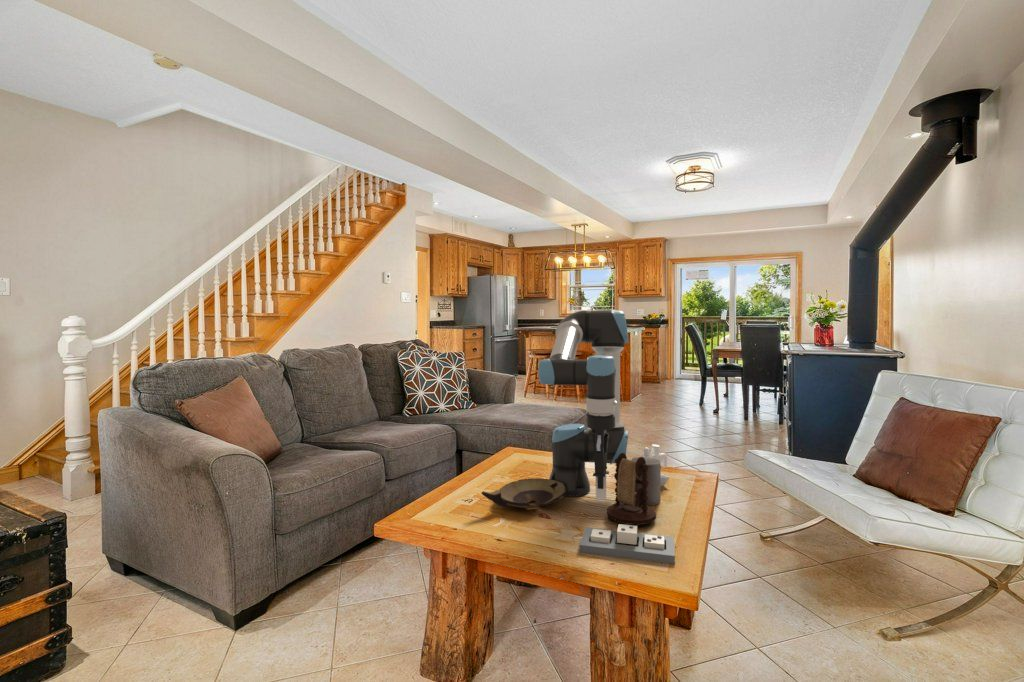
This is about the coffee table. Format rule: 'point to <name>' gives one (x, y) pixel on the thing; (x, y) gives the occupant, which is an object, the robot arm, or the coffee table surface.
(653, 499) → the pillar candle
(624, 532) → the white die
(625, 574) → the coffee table surface
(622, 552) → the button board
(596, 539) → the white die
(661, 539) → the white die
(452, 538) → the coffee table surface
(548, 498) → the oil lamp
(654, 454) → the figurine
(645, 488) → the scroll
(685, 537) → the coffee table surface
